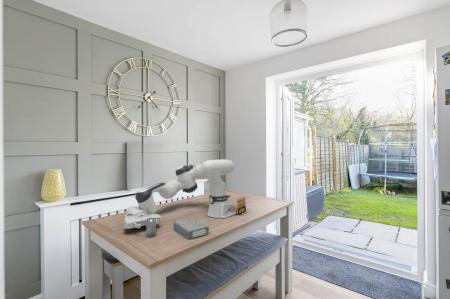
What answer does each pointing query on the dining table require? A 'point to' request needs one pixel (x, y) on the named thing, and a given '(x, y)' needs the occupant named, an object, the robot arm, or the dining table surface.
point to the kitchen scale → (191, 228)
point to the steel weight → (151, 227)
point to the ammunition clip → (240, 206)
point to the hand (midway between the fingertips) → (148, 224)
